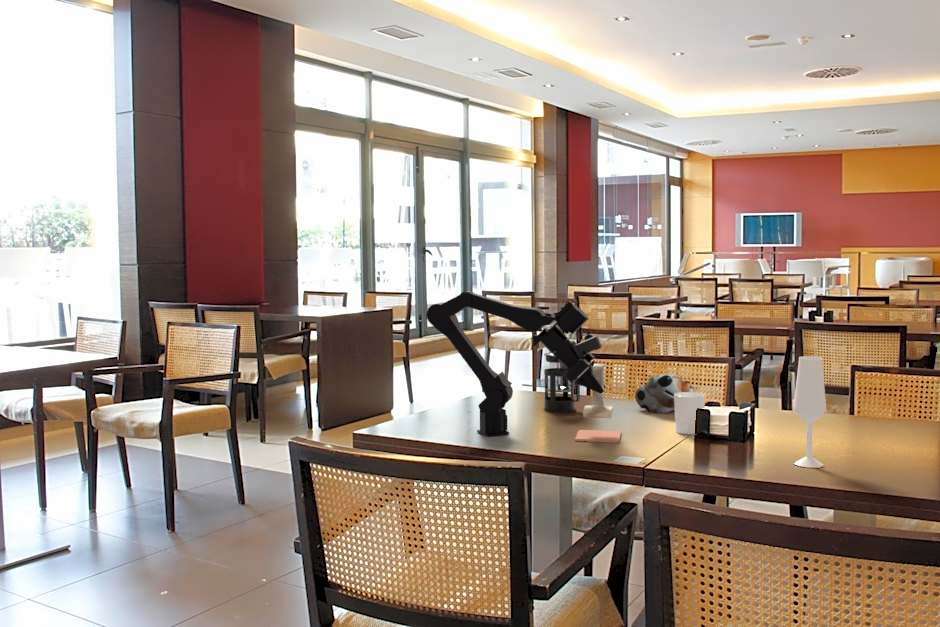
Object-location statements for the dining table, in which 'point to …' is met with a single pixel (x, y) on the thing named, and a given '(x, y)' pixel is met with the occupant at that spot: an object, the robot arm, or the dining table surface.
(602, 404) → the table number stand
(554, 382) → the french press
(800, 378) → the champagne flute
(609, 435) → the terracotta mat
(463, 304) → the robot arm
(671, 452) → the dining table surface
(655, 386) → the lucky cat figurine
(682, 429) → the white cup
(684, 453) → the dining table surface
